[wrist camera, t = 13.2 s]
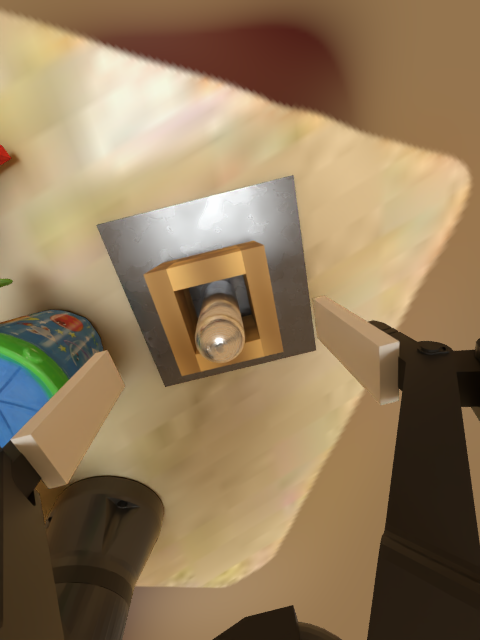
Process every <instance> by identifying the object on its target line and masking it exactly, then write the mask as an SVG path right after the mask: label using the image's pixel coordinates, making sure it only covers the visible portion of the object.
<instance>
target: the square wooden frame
mask: <svg viewBox="0 0 480 640" xmlns="http://www.w3.org/2000/svg"><path fill="white" fill-rule="evenodd" d="M239 275H243V278H244V282H245V287H246V291H247V295H248V300H249V304H250V309H251V313H252V315H248V316H244V317H241V318H242V322H243V327H244V331H245V344H244V347H243V349H242V351H241V353H240V354H239V355H238V356H237V357H236V358H234V359H233V360H231V361H229V362H225V363H214V362H211V361H209V360H207V359H206V358H204V357H203V356H202V355H201V354H200V353H199V351H198V349H197V347H196V344H195V332H196V328H197V323H198V317H197V314H196V310H195V307H194V304H193V301H192V298H191V295H190V292H189V287H194V286H198V285H202V284H206V283H210V282H214V281H218V280H222V279H226V278H231V277H235V276H239ZM144 278H145V281H146V283H147V286H148V288H149V291H150V294H151V296H152V299H153V302H154V304H155V307H156V309H157V312H158V315H159V317H160V320H161V323H162V325H163V328H164V330H165V333H166V336H167V338H168V341H169V344H170V346H171V349H172V352H173V354H174V357H175V359H176V362H177V365H178V367H179V370H180V373H181V375H182V376H184V375H189V374H193V373H197V372H201V371H205V370H210V369H214V368H218V367H222V366H226V365H231V364H235V363H239V362H243V361H247V360H251V359H256V358H260V357H264V356H268V355H272V354H277V353H281V352H283V346H282V341H281V335H280V330H279V324H278V319H277V313H276V308H275V302H274V297H273V292H272V286H271V281H270V275H269V270H268V264H267V259H266V253H265V248H264V245H262V244H260V243H258V242H256V241H250V242H246V243H242V244H237V245H233V246H229V247H225V248H221V249H217V250H213V251H209V252H205V253H201V254H197V255H193V256H188V257H184V258H180V259H176V260H172V261H168V262H164V263H161V264H160V265H158V266H156V267H155V268H153V269H152V270H150V271H148V272H147V273H145V274H144Z"/></svg>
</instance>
